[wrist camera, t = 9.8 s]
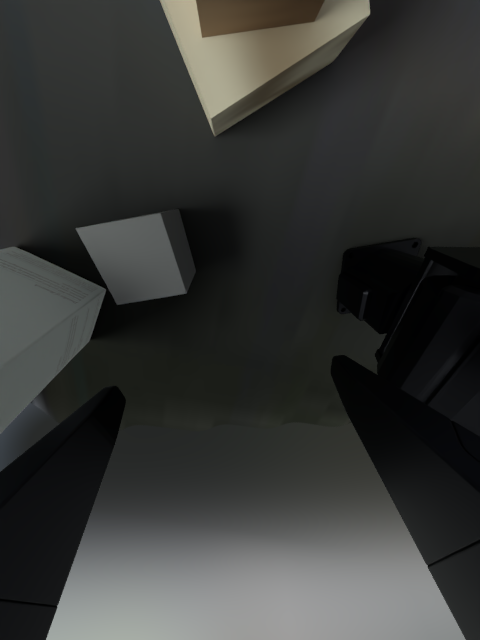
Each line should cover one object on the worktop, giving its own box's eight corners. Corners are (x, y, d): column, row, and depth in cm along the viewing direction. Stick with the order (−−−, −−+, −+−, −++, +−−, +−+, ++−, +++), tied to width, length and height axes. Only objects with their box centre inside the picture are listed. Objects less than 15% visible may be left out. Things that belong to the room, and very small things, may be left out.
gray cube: (178, 208, 15) (160, 212, 11) (196, 270, 18) (186, 293, 14) (116, 219, 16) (75, 228, 11) (143, 279, 18) (117, 304, 14)
